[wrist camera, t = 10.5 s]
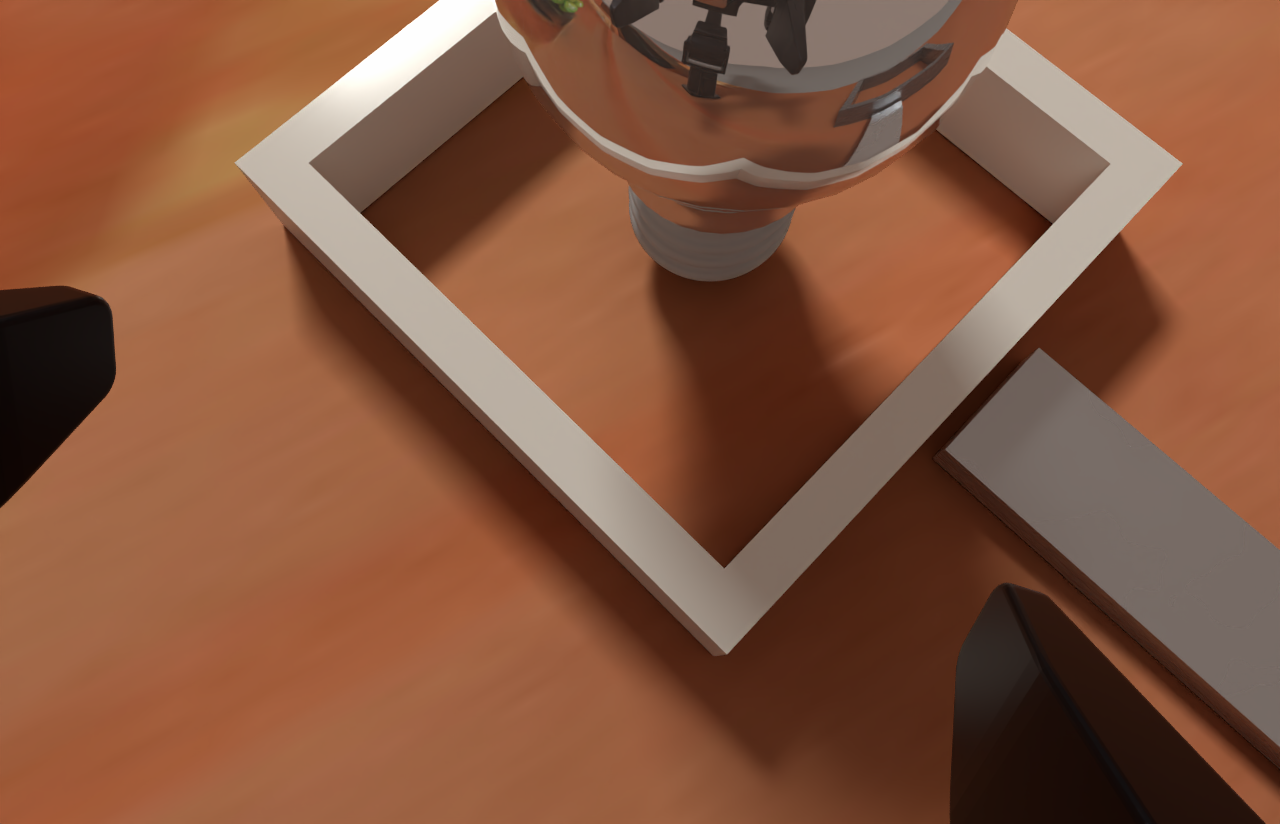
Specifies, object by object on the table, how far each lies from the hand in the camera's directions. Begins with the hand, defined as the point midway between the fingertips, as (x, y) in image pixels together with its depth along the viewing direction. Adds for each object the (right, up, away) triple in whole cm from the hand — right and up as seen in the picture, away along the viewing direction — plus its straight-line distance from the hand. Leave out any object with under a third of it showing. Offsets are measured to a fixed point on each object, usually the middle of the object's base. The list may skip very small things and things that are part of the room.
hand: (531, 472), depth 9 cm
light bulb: (+2, +4, +11) cm, 12 cm away
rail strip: (+11, -2, +9) cm, 15 cm away
